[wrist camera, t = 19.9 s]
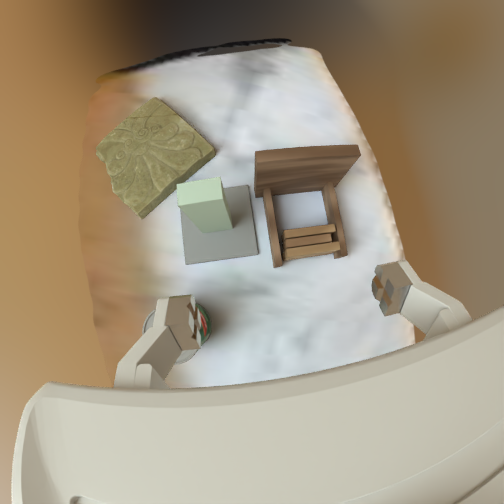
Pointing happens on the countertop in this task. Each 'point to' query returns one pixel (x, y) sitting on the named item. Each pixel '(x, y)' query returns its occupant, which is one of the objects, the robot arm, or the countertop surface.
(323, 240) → the offcut stack
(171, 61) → the countertop surface
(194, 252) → the grey mat
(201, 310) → the canned tomato
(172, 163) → the decorative tile
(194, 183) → the pale green block
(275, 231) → the walnut rack
